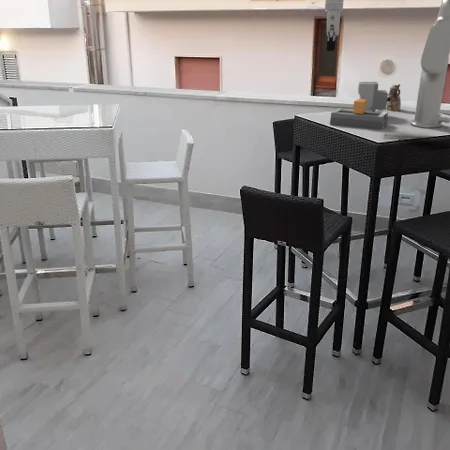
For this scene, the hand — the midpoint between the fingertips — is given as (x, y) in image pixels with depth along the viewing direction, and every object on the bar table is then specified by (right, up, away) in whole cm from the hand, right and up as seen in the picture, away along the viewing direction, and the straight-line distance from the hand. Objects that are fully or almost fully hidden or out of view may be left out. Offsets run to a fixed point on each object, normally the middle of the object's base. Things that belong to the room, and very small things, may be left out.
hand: (330, 49), depth 215 cm
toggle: (+11, -31, -4) cm, 33 cm away
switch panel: (+11, -34, -3) cm, 35 cm away
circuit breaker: (+22, -27, +12) cm, 37 cm away
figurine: (+36, -21, +25) cm, 49 cm away
